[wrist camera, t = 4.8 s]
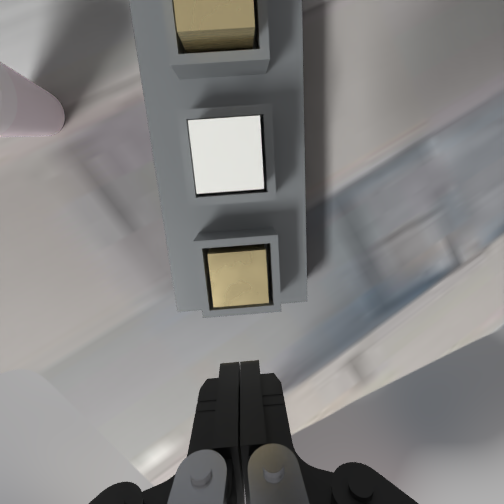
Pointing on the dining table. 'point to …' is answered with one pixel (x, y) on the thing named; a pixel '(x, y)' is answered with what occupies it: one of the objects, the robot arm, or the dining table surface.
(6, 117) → the smoothie
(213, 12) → the brass metal cube
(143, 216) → the dining table surface
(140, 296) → the dining table surface
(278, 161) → the console
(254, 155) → the white square block
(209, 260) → the gold square block
